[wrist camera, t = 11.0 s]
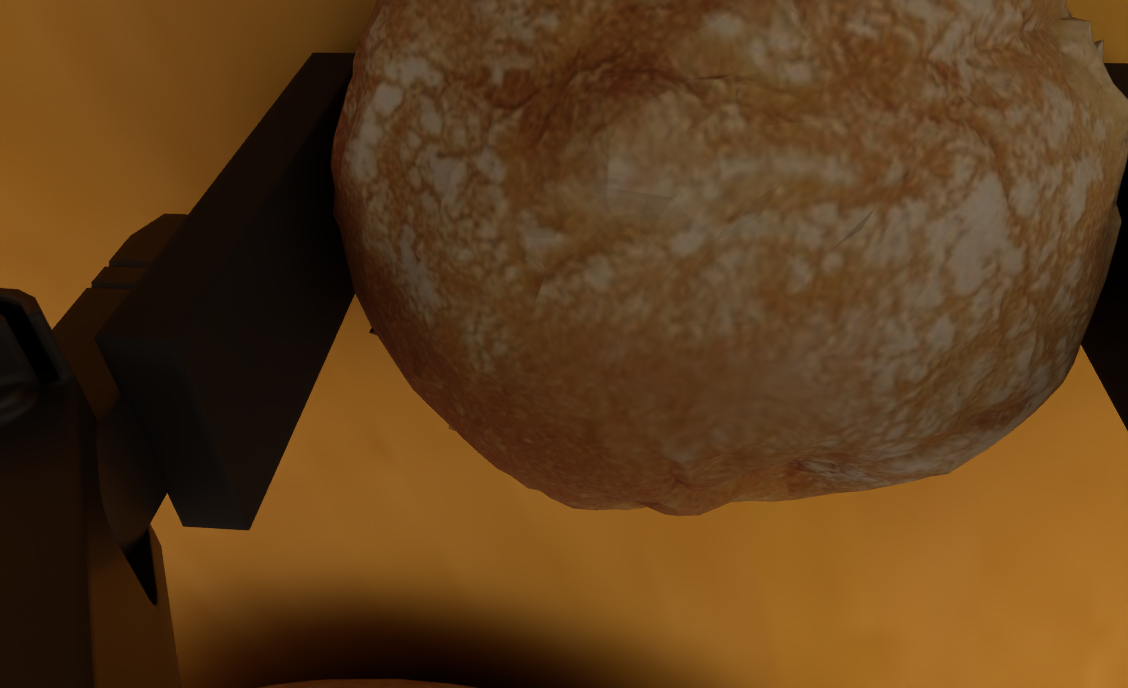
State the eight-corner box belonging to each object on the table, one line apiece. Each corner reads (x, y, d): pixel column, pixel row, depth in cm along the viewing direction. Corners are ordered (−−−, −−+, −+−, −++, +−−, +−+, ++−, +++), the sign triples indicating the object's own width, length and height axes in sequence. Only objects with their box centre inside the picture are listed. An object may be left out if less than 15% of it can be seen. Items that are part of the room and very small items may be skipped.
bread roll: (1020, 79, 16) (1553, 128, 9) (676, 512, 18) (876, 858, 10) (589, -340, 13) (856, -836, 5) (222, 243, 15) (43, 472, 7)
